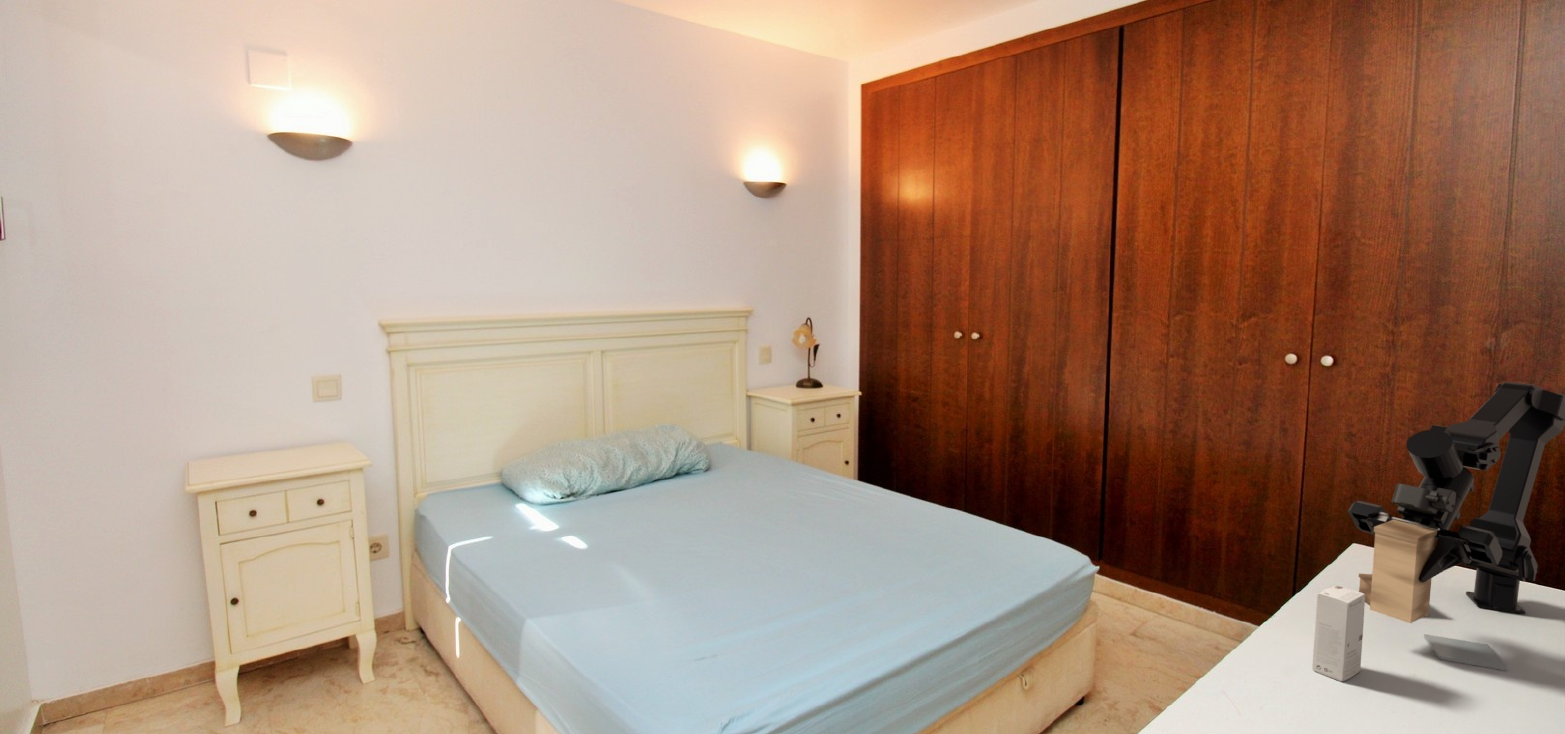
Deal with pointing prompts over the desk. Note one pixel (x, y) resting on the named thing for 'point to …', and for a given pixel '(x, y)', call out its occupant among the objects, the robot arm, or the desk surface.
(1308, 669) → the desk surface
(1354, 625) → the skincare box
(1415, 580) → the oak tea canister
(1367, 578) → the walnut trinket box
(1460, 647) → the coaster
